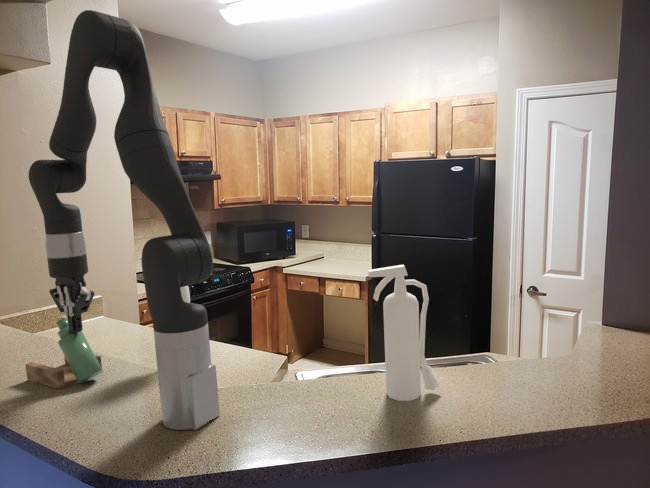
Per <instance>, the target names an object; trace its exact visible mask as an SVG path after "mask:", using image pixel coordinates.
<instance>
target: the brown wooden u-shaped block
mask: <svg viewBox="0 0 650 488" xmlns="http://www.w3.org/2000/svg"><path fill="white" fill-rule="evenodd" d="M94 355H95V357H96V358H97V360H98V362H99V364H100V366H101V368H102V369H103V364H102V357H101V355H96V354H94ZM63 356H64V357H63V358H64V364H62V365H60V366H56V367H52V366H49V365H44V364H41V363H36V362H33V361H32V362H28V363H25V372H26V378H27V381H28V380H29V381H28V382H31V381H32V382H31V383H35V382H36V383H35V384H38V383H40V384H39V385H42V384H44V385H43V386H46V385H48V386H47V387H49V386H51V387H50V388H53V387H55V388H54V389H56V388H58V389H57V390H61V389H64V388H66V387H69V386H70V385H74V384H76V383H79V382H78V380H77V378H76V376H75V375H74V373H73V371H72V369H71V367H70V365H69V363H68V361H67V359H66V357H65V355H64V354H63ZM68 385H69V386H68ZM65 386H66V387H65ZM63 387H64V388H63ZM60 388H61V389H60Z"/></svg>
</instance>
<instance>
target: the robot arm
mask: <svg viewBox="0 0 650 488" xmlns="http://www.w3.org/2000/svg"><path fill="white" fill-rule="evenodd" d="M95 67H96V68H100V69H101V68H102V69H107V70H112V71H115V72H117V74H118V75H119V77H120V81H121V83H122V84H121V85H122V87H123V94H124V100H123V104H122V107H121V109H120V112H119V114H118V117H117V120H116V124H115V127H114V132H113V135H114V136H113V138H114V142H115V145H116V150H117V152H118V153H117V154H118V156H119V160H120V163H121V166H122V168H123V170H124V173H125V174H126V176H127V177H128V179H129V180H130V181H131V182H132V183H133V184H134V186H135V187H136V188H137V189H138V190H139V191H140V192H141V193H142V195H144V196H145V197H146V198H147V199H148V200H149V201H150V202H152V204H153V205H154V206H155V207H156V208H157V209H158V211H159V212H160V213H161V214H162V217H163V219H164V220H165V223H166V224H167V227H168V229H169V231H170V235H164V236H163V235H161V236H157V237H152V238H150V239H148V240H147V241H146V242H145V244H144V245H143V247H142V250H141V270H142V277H143V283H144V288H145V295H146V303H147V304H146V305H147V309H148V312H149V315H150V318H151V321H152V326H153V337H154V347H155V358H156V368H157V377H158V378H157V380H158V388H159V397H160V407H161V416H162V418H161V419H162V425H163V426H164V427H166V429H170V430H175V431H176V430H177V431H183V430H185V431H186V430H194V431H197V430H199V429H200V428H202V427H203V426H205V425H206V424H208V423H209V421H210V420H211V421H213V420H214V419H216V418H218V417H219V416H220V415H221V414H220V402H219V401H220V400H219V391H218V390H219V389H218V377H217V366H216V365H215V364H212V358H211V345H210V335H209V334H210V332H209V330H210V329H209V321H208V320H209V319H208V310H207V308H206V307H205V306H204V305H202V304H200V303H193V302H190V303H186V302H184V301H183V298H182V295H181V290H180V287H184V286H188V287H189V286H192V285H195V284H200V283H202V282H206V281H207V280H208V279H209V278H210V277H211V275H212V272H213V267H214V259H213V254H212V251H211V246H210V243H209V241H208V238H207V235H206V233H205V231H204V229H203V226H202V224H201V221H200V220H199V218H198V215H197V213H196V211H195V208H194V206H193V203H192V201H191V198H190V196H189V194H188V191H187V187H186V185H185V183H184V179H183V177H182V176H183V175H182V173H181V171H180V168H179V165H178V160H177V157H176V153H175V150H174V147H173V144H172V141H171V138H170V137H171V136H170V134H169V132H168V129H167V127H166V124H165V121H164V117H163V115H162V111H161V109H160V104H159V100H158V98H157V93H156V91H155V87H154V82H153V78H152V72H151V69H150V63H149V59H148V54H147V50H146V45H145V42H144V39H143V36H142V34H141V32H140V30H139V28H138V27H137V25H135V24H134V23H133V22H131V21H129V20H126V19H124V18H120V17H118V16H114V15H112V14H111V15H110V14H108V13H107V14H106V13H104V12H100V11H96V10H92V9H91V10H90V9H87V10H83V11H82V12H80V13H79V14H78V15H77V16H76V18H75V21H74V23H73V24H72V28H71V33H70V38H69V43H68V49H67V58H66V64H65V68H64V69H65V70H64V79H63V87H62V88H63V89H62V95H61V100H60V106H59V109H58V113H57V117H56V120H55V122H54V125H53V129H52V132H51V135H50V139H49V142H48V147H49V150H50V152H51V153H52V154H53V155H54V156H56V157H58V158H60V159H37V160H35V161H34V162H33V163H32V164H31V165H30V166H29V170H28V181H29V185H30V186H31V189H32V191H33V194H34V196H35V198H36V200H37V203H38V205H39V208H40V210H41V212H42V216H43V224H44V230H45V231H44V232H45V251H46V259H47V267H48V268H47V269H48V275H49V277H50V278H52V279H55V281H54V285H55V287H54V288H52V289H49V294H50V296H51V298H52V299H53V301H54V303H55V305H56V307H57V309H58V310H59V312H60V313H64V315H65V316H66V317H67V320H68V326H69V332H72V333H77V332H80V331H82V332H83V321H82V315H83V314H84V313H87V312H88V311H89V308H90V306H91V303H92V301H93V298H94V297H95V291H94V290H88V289H87V283H86V280H85V278H84V276H85V275H86V274H88V272H89V266H88V258H87V256H88V255H87V248H86V241H85V240H86V239H85V237H84V232H83V224H82V223H83V222H82V214H81V210H80V208H79V207H78V205H75V204H69V203H64V202H61V200H60V198H59V197H58V194H73V193H76V192H79V191H80V190H82V189H83V187H84V186H85V184H86V181H87V162H88V161H87V159H88V151H89V148H90V146H91V144H92V141H93V138H94V136H95V132H96V130H97V114H96V111H95V107H94V104H93V101H92V97H91V93H90V88H89V84H90V83H89V82H90V79H91V74H92V73H93V71H94V68H95ZM212 419H213V420H212ZM211 421H210V422H211ZM207 422H208V423H207Z"/></svg>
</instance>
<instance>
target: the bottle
mask: <svg viewBox="0 0 650 488" xmlns="http://www.w3.org/2000/svg"><path fill="white" fill-rule="evenodd" d="M54 322H55V324H56V325H57V327H58V329H59V330H58V332H57V335H58V336H59V340H58V342H57V344H58V346H59V348H60V350H61V351H62V354H63V356H64V355H65V357H66V359H67V361H68V363H69V365H70V367H71V369H72V371H73V373H74V375H75V376H76V378H77V380H78V382H77V383H78V384H82V383H86V382H87V381H90V380H91V379H93V378H95V377H97V376H98V375H99V374H101V373H103V370H104V369H103V367H102V368H101V366H100V364H99V362H98V360H97V358H96V357H95V355H96V354H95V353H94V351H93V349H92V347H91V346H90V343H89V342H88V340H87V338H86V336H85V334H84V333H83V330H82V331H80V332H77V333H72V332H69V326H68V318H67V316H66V315H65V314H64V315H60V316H58V317H56V318H55V319H54Z"/></svg>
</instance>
